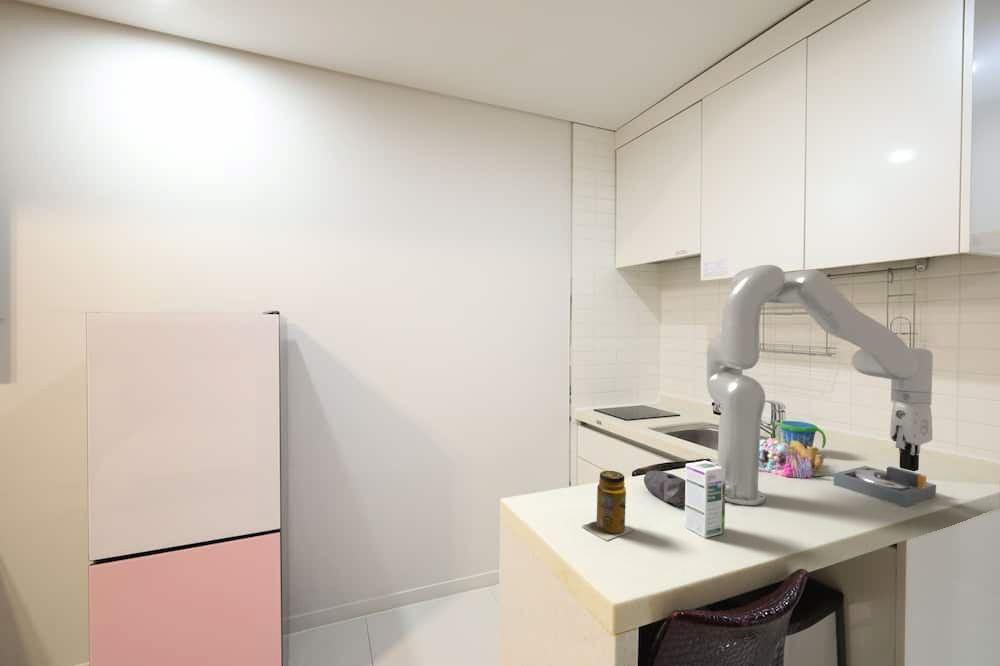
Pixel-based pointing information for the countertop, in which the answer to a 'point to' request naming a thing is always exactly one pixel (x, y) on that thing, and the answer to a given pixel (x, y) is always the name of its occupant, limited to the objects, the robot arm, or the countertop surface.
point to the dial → (893, 478)
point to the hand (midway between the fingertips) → (908, 469)
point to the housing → (883, 488)
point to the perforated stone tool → (666, 487)
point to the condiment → (610, 507)
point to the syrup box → (705, 498)
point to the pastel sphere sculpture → (789, 459)
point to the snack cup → (799, 432)
